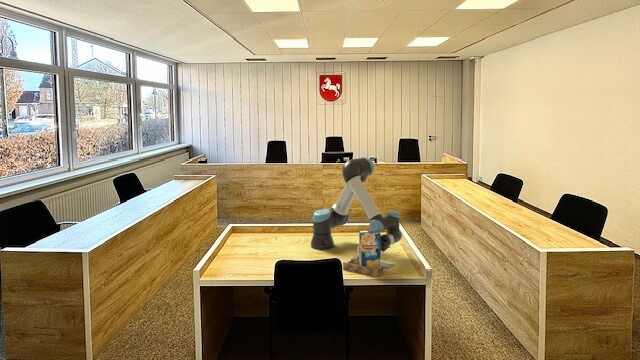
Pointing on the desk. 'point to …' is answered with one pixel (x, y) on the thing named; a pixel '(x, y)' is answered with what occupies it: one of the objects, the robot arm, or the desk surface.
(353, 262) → the offcut top
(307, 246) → the desk surface
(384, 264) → the pad
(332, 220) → the robot arm
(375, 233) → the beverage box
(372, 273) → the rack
